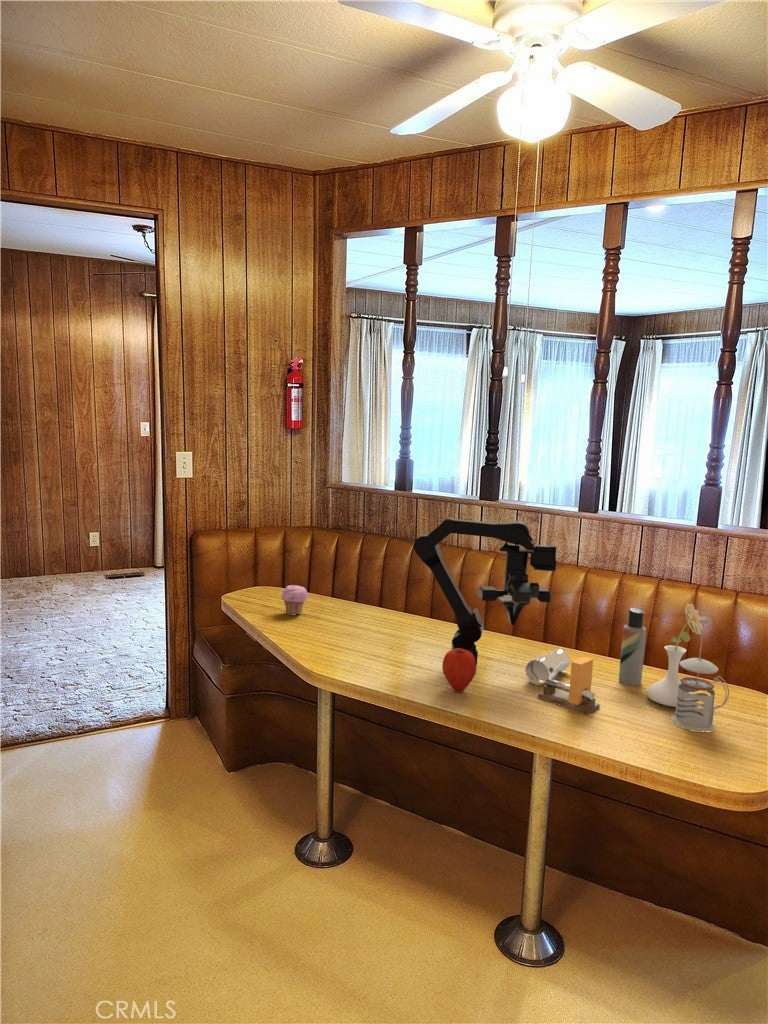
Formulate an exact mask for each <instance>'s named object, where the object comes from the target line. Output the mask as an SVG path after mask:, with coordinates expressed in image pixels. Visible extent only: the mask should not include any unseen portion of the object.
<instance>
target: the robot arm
mask: <svg viewBox="0 0 768 1024" xmlns="http://www.w3.org/2000/svg"><path fill="white" fill-rule="evenodd" d="M530 533H531V531H530V527H529V525H528V523H526V522H525V521H523V520H509V521H500V522H491V521H481V520H472V519H471V520H470V519H461V518H460V519H459V518H453V517H447V518H445V519H444V520H443V521H442V522H441V524H439V525H438V526H437V527H436V528H434V529H433V530H432V531H431V532H428V533H427V532H425V533H423V534H422V535H420V536H419V537H417V538H416V539H415V541H414V543H413V550H414V552H415V554H416V555H417V557H419V559H420V560H421V561H422V563H423V564H425V566H427V567H428V568H429V570H430V571H431V574H432V575H433V577H434V578H435V580H436V582H437V584H438V586H439V588H440V589H441V591H442V593H443V595H444V596H445V598H446V600H447V602H448V603H449V606H450V608H451V610H452V611H453V613H454V616H455V620H456V625H457V630H455V633H454V635H453V637H452V640H451V648H450V650H452V649H455V648H462V649H465V650H468V651H470V652H471V653H472V654H473V656H474V658H475V662H476V669H477V665H478V654H479V651H478V649H477V645H476V642H478V641H479V640H481V638H482V635H483V632H484V629H485V628H484V626H485V625H484V621H485V619H484V618H482V616H481V615H480V612H479V609H478V607H475V608H474V609H472V608H471V607H470V606H469V604H468V603H467V602H466V600H465V598H464V596H463V594H462V592H461V591H460V589H459V587H458V585H457V583H456V581H455V579H454V578H453V576H452V574H451V572H450V570H449V569H448V567H447V565H446V563H445V561H444V558H443V553H442V549H441V547H440V546H441V545H440V542H442V541H443V540H445V538H447V537H448V536H449V535H451V534H456V535H467V536H474V537H475V536H476V537H486V538H493V539H498V540H500V541H502V542H504V543H503V544H502V545H501V546H500V547H499V549H498V550H499V551H500V552H506V553H505V555H506V556H505V568H504V569H503V574H504V580H503V581H504V583H503V584H502V585H503V586H502V588H503V589H496V588H495V587H494V586H491V585H490V586H488V585H487V586H486V585H480V586H479V587H478V589H477V596H478V598H479V599H480V600H482V601H484V602H495V601H496V600H497V599H498V600H499V602H501V603H502V604H503V606H504V608H505V611H506V613H507V617H508V621H509V623H510V626H515V625H516V623H517V620H518V619H519V616H520V614H521V612H522V610H523V609H524V607H525V606H526V605H527V606H528V605H530V603H531V601H532V598H533V599H534V598H535V599H537V600H538V602H540V603H551V602H552V593H551V591H549V590H548V589H547V588H546V587H542V586H541V587H540V583H538V582H529V574H528V561H529V562H530V563H529V566H530V567H531V568H533V570H534V571H541V572H542V571H544V572H554V573H555V572H556V568H557V545H542V544H536V542H535V540H534V539H533V537H532V535H530ZM521 547H523V548H521ZM529 554H530V558H529Z"/></svg>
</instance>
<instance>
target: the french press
mask: <svg viewBox="0 0 768 1024" xmlns="http://www.w3.org/2000/svg"><path fill="white" fill-rule="evenodd" d="M699 623H702V626H703V627H702V630H701V638H700V639H701V640H700V647H699V657H690V658H687V659H684V660H680V663H679V666H680V667H681V668H682V669H684V670H685V671H689V672H693V673H697V675H696V677H691V676H688V677H687V676H685V677H682V678H680V679H679V680H680V681H681V683H682V684H679V686H678V694H677V703H676V707H675V713H674V714H672V715H671V716H672V717H670V718H669V721H670V722H671V721H672V722H673V723H674V724H673V723H672V722H671V723H672V724H673V725H675V724H676V725H678V726H680V727H683V728H686V729H689V730H694V731H700V732H699V733H701V732H702V731H704V732H705V731H712V730H714V729H715V727H716V728H717V726H716V725H715V723H714V722H713V721H714V713H715V710H717V709H720V708H722V707H723V706H724V705H726V704H727V702H728V700H729V698H730V697H729V696H730V689H729V686H728V683H727V681H726V680H725V679H724V678H722V677H721V675H717V676H715V677H713V682H710V681H709V680H705V679H702V678H699V675H700V674H702V675H704V674H705V675H712V674H716V673H717V672H718V670H719V668H718V666H716V665H715V664H714V663H713V662H711V661H710V660H706V659H704V658H701V656H702V655H701V654H702V645H703V636H704V631H703V629H705V627H704V625H709V620H708V619H707V617H701V619H699ZM719 678H720V679H721V680H722V681H721V680H720V679H719ZM717 681H718V682H720V684H721V685H722V687H723V689H724V693H725V695H724V701H723V702H722V704H721V705H715V697H716V691H715V690H714V687H715V685H714V684H716V683H717ZM723 682H724V683H723ZM713 683H714V684H713ZM699 691H705V692H707V693H709V694H710V695H709V694H707V693H704V692H699ZM687 692H692V694H690V693H687ZM694 692H698V693H694ZM683 699H694V700H683ZM699 702H702V703H699ZM687 704H691V705H687ZM714 705H715V706H714ZM697 707H700V708H697ZM676 725H675V726H676ZM678 726H677V727H678ZM680 727H679V728H680ZM683 728H682V729H683ZM689 730H688V731H689Z"/></svg>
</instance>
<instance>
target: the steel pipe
mask: <svg viewBox="0 0 768 1024" xmlns="http://www.w3.org/2000/svg"><path fill="white" fill-rule="evenodd" d="M546 685H548V686H551V687H554V688H555V689H557V690H560V691H563V692H565V693H569V688H570V684H568V683H565V682H562V681H559V680H556V679H550V678H547V679H546V683H545V686H546ZM582 697H584V698H587V699H589V700H593V699H594V698H595V693H594V692H592V691H591V692H590V691H587V690H584V689H583V690H582Z"/></svg>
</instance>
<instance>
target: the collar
mask: <svg viewBox="0 0 768 1024" xmlns="http://www.w3.org/2000/svg"><path fill="white" fill-rule="evenodd" d="M570 665H571V666H570V678H569V685H570V688H569V692H568V694H569V700H568V702H569V703H572V704H575V705H579V704H581V703H583V702H584V701H585V700H586V699H587V698H584V697H582V690H583V689H584V690H587V691H590V692H592V691H591V690H592V681H593V680H592V678H593V667H594V658H590V657H587V656H582V657H580V658H578V659H576V660H573V661H571V663H570Z"/></svg>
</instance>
